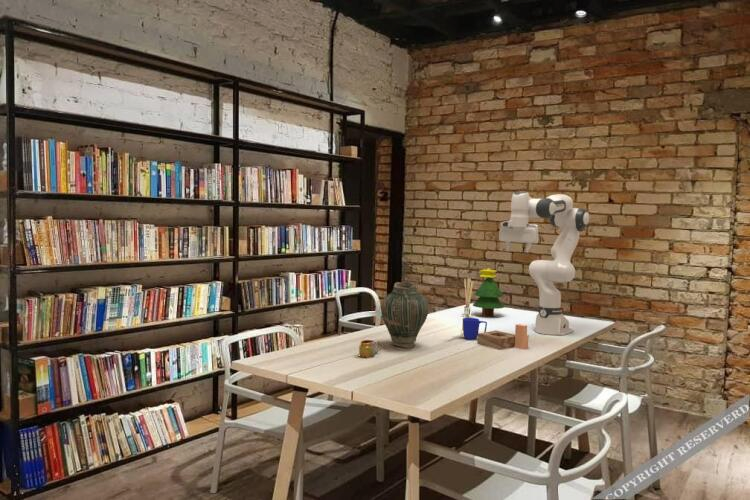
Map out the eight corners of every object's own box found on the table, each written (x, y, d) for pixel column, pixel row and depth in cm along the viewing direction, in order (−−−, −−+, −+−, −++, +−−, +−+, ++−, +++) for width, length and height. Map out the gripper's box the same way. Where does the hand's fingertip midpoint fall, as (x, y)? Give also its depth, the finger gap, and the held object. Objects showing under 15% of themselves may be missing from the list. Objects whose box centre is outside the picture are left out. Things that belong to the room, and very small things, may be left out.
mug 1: (366, 359, 241) (366, 343, 241) (355, 355, 246) (356, 340, 246) (386, 354, 250) (386, 340, 249) (375, 351, 255) (376, 337, 254)
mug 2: (486, 341, 280) (487, 321, 279) (461, 339, 283) (462, 320, 282) (486, 338, 288) (487, 318, 288) (462, 336, 291) (463, 317, 290)
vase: (396, 338, 282) (398, 278, 280) (435, 345, 270) (437, 282, 268) (370, 346, 264) (372, 282, 262) (411, 354, 252) (413, 287, 249)
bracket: (520, 346, 272) (521, 323, 272) (528, 347, 269) (529, 325, 268) (514, 347, 270) (515, 324, 269) (522, 349, 266) (523, 326, 265)
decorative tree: (496, 320, 338) (499, 270, 335) (467, 316, 348) (469, 267, 346) (508, 315, 354) (510, 267, 352) (479, 311, 364) (481, 265, 362)
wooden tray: (495, 340, 284) (496, 330, 283) (518, 345, 273) (519, 335, 273) (477, 343, 275) (477, 333, 274) (500, 349, 264) (500, 339, 264)
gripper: (541, 224, 276) (540, 252, 277) (504, 223, 289) (502, 250, 290) (535, 224, 271) (534, 253, 272) (498, 223, 285) (496, 250, 286)
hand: (517, 251), depth 281 cm, fingers open, 8 cm apart
